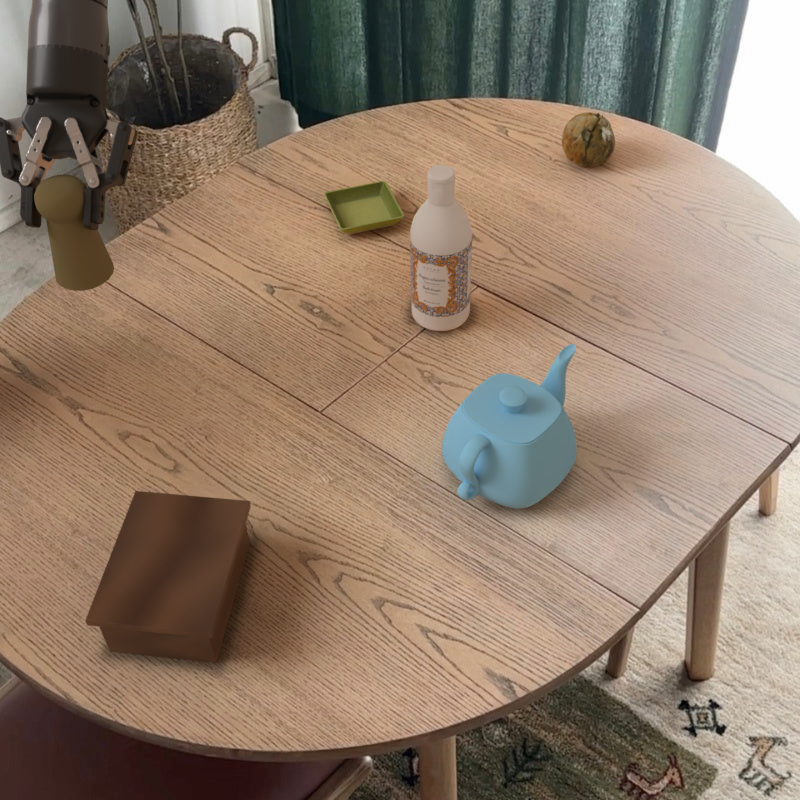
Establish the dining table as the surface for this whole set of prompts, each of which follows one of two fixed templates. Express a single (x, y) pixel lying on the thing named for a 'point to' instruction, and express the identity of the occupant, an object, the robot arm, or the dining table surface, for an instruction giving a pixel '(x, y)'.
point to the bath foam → (440, 256)
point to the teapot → (512, 438)
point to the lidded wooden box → (172, 576)
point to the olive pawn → (72, 235)
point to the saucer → (364, 207)
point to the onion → (588, 140)
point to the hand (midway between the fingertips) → (62, 227)
